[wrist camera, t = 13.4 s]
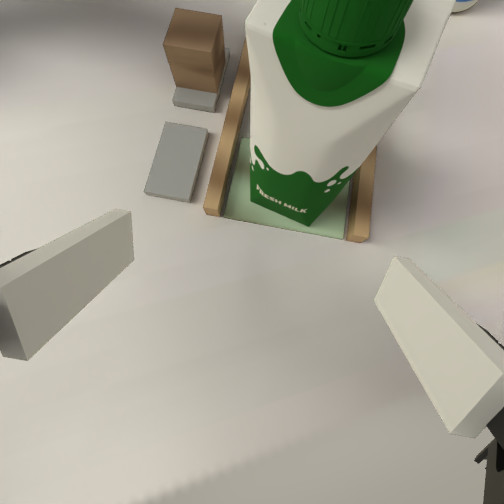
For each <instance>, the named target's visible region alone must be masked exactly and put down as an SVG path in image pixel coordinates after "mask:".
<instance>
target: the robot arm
mask: <svg viewBox="0 0 504 504" xmlns="http://www.w3.org/2000/svg"><path fill="white" fill-rule="evenodd" d="M133 261H134V249H133V235H132V220H131V211H126V210H120V209H114V210H112V211H110V212H108V213H106V214H104V215H102V216H100V217H99V218H97V219H95V220H93V221H91V222H89V223H87V224H85V225H83V226H81V227H79V228H77V229H75V230H73V231H71V232H69V233H67V234H65V235H63V236H62V237H60V238H58V239H56V240H54V241H52V242H50V243H48V244H46V245H44V246H42V247H40V248H38V249H35V250H31V251H28V252H25V253H23V254H21V255H19V256H17V257H15V258H13V259H11V261H7V262H5V263H3V264H1V265H0V350H1V353H2V355H3V357H8V358H14V359H20V360H25V361H28V360H29V359H30V358H31V357H32V356H33V355H34V354H35V353H36V352H37V351H38V350H40V349H41V348H42V347H43V346H44V345H45V344H46V343H47V342H48V341H49V340H50V339H51V338H52V337H53V336H54V335H55V334H56V333H57V332H59V331H60V330H61V329H62V328H63V327H64V326H65V325H66V324H67V323H68V322H69V321H70V320H71V319H72V318H73V317H74V316H75V315H77V314H78V313H79V312H80V311H81V310H82V309H83V308H84V307H85V306H86V305H87V304H88V303H89V302H90V301H91V300H92V299H93V298H94V297H96V296H97V295H98V294H99V293H100V292H101V291H102V290H103V289H104V288H105V287H106V286H107V285H108V284H109V283H110V282H111V281H112V280H114V279H115V278H116V277H117V276H118V275H119V274H120V273H121V272H122V271H123V270H124V269H125V268H126V267H127V266H128V265H129V264H130V263H131V262H133ZM374 302H375V304H376V305H377V307H378V309H379V311H380V312H381V314H382V316H383V318H384V319H385V321H386V323H387V325H388V326H389V328H390V330H391V332H392V333H393V335H394V337H395V339H396V340H397V342H398V344H399V346H400V347H401V349H402V351H403V353H404V354H405V356H406V358H407V360H408V361H409V363H410V365H411V367H412V368H413V370H414V372H415V374H416V375H417V377H418V379H419V381H420V382H421V384H422V386H423V388H424V389H425V391H426V393H427V395H428V396H429V398H430V400H431V402H432V403H433V405H434V407H435V409H436V411H437V412H438V414H439V416H440V418H441V419H442V421H443V423H444V424H445V426H446V428H447V430H448V432H449V433H450V434H453V435H459V436H465V437H471V438H476V437H477V436H478V435H479V434H480V433H481V431H482V430H483V429H484V428H485V427H486V426H487V427H488V429H489V430H490V432H491V433H492V434H493V436H494V437H495V439H494V440H493V441H492V442H491V443H490V444H488V445H487V446H486V447H485V448H484V450H482V451H481V452H480V453H479V454H478V455H477V456H476V458H475V460H474V461H476V462H477V463H480V462H481V461H482V460H483V459H487V467H486V468H485V469H486V478H485V490H484V501H483V504H504V347H503V346H502V345H501V344H498V341H497V340H496V339H495V338H494V337H493V336H492V335H491V334H490V333H489V332H488V331H487V330H485V329H484V328H482V327H481V326H480V325H478V324H477V323H475V322H474V321H473V320H472V319H471V318H470V317H469V316H468V315H467V314H466V313H465V312H464V311H463V310H462V309H461V308H460V307H459V306H458V305H457V304H456V303H455V302H454V301H453V300H452V299H451V298H450V297H449V296H448V295H447V294H445V293H444V292H443V291H442V290H441V289H440V288H439V287H438V286H437V285H436V284H435V283H434V282H433V281H432V280H431V279H430V278H429V277H428V276H427V275H426V274H425V273H424V272H423V271H422V270H421V269H420V268H419V267H418V266H417V265H416V264H415V263H414V262H413V261H412V260H411V259H409V258H403V257H397V256H394V258H393V260H392V262H391V264H390V266H389V268H388V271H387V273H386V275H385V277H384V279H383V282H382V284H381V286H380V288H379V290H378V293H377V295H376V297H375V299H374Z"/></svg>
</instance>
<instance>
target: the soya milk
mask: <svg viewBox="0 0 504 504" xmlns="http://www.w3.org/2000/svg"><path fill="white" fill-rule="evenodd" d="M455 2H456V0H257V2H256V4H255V5H254V7H253V9H252V10H251V12H250V14H249V15H248V17H247V19H246V21H245V32H246V40H247V48H248V56H249V64H250V74H251V103H250V201H251V202H253V203H255V204H257V205H260V206H262V207H264V208H267V209H269V210H271V211H273V212H276V213H278V214H280V215H282V216H285V217H287V218H289V219H292V220H294V221H296V222H298V223H301V224H303V225H305V226H307V227H309V226H310V225H311V224H312V223H313V222H314V221H315V220H316V219H317V217H318V216H319V215H320V214H321V213H322V212H323V211H324V210H325V209H326V208H327V207H328V206H329V205H330V204H331V203H332V201H333V200H334V199H335V198H336V197H337V195H338V194H339V193H340V192H341V190H342V189H343V188H344V186H345V185H346V184H347V182H348V181H349V180H350V179H351V177H352V176H353V175H354V173H355V172H356V171H357V170H358V168H359V167H360V166H361V164H362V163H363V162H364V160H365V159H366V158H367V157H368V155H369V154H370V153H371V151H372V150H373V149H374V148H375V146H376V145H377V144H378V142H379V141H380V140H381V138H382V137H383V136H384V134H385V133H386V132H387V130H388V129H389V127H390V126H391V125H392V123H393V122H394V121H395V119H396V118H397V117H398V115H399V114H400V113H401V112H402V110H403V109H404V108H405V106H406V105H407V104H408V102H409V101H410V100H411V98H412V97H413V96H414V94H415V93H416V92H417V91H418V89H420V88H421V85H422V83H423V80H424V78H425V75H426V73H427V70H428V68H429V65H430V63H431V60H432V58H433V55H434V53H435V50H436V47H437V45H438V42H439V40H440V37H441V35H442V32H443V30H444V28H445V26H446V23H447V21H448V19H449V17H450V14H451V12H452V10H453V7H454V4H455Z"/></svg>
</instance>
